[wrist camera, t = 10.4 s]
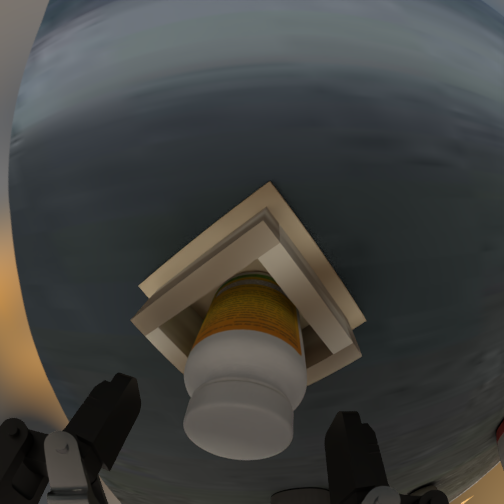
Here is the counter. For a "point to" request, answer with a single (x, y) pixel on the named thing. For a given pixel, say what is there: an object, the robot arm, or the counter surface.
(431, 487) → the plastic bottle
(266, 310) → the supplement bottle
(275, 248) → the open square wooden box
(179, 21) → the counter surface
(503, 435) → the citrus juicer
